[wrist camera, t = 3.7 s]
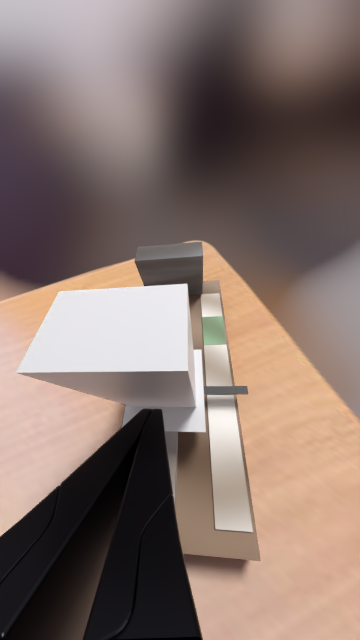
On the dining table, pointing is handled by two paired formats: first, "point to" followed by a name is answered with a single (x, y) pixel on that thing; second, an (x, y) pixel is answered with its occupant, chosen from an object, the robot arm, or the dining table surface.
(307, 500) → the dining table surface
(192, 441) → the base
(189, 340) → the slider
